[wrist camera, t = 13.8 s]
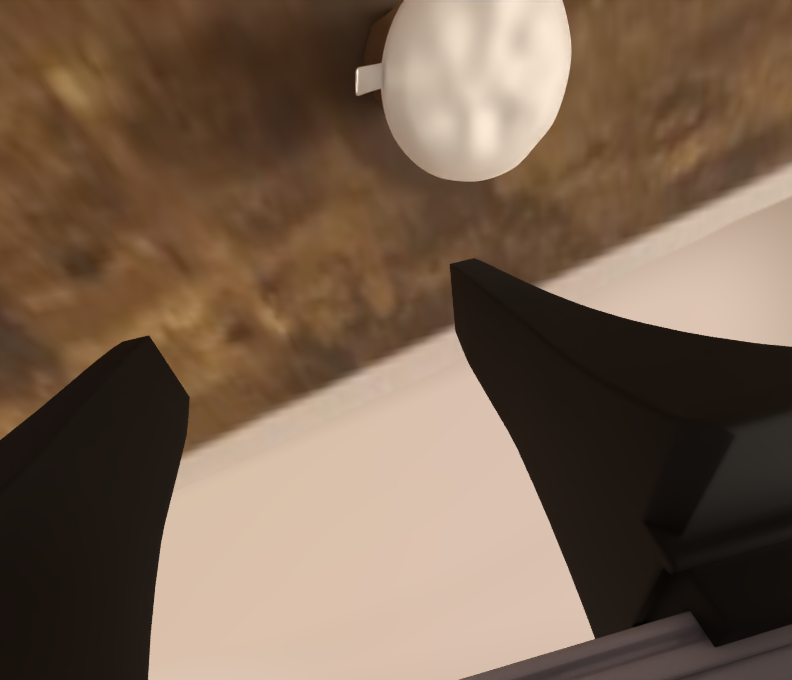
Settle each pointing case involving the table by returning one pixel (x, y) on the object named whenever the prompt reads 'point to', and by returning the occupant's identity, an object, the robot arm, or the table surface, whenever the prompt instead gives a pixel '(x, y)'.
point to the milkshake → (468, 80)
